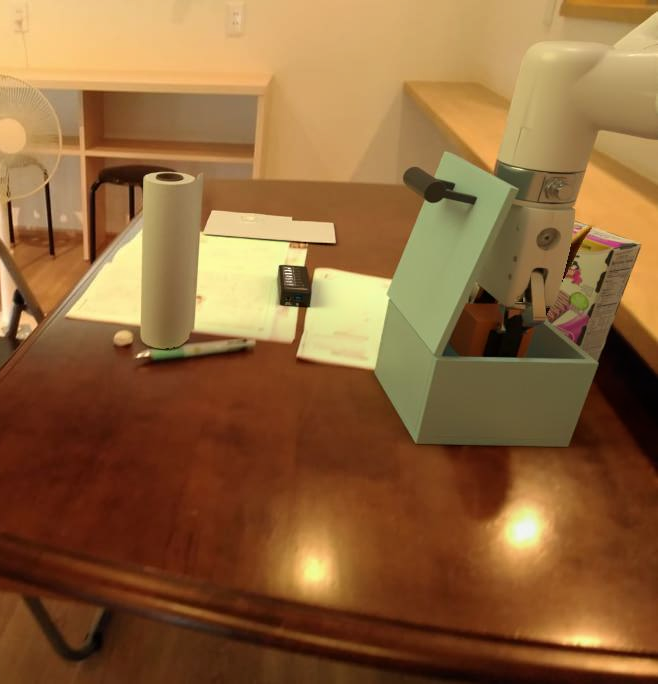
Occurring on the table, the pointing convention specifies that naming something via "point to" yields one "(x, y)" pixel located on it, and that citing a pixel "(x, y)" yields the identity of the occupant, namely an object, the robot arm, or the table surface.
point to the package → (480, 330)
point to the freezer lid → (447, 244)
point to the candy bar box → (593, 288)
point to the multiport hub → (294, 286)
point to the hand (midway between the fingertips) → (486, 351)
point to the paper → (268, 227)
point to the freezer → (484, 389)
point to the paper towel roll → (169, 257)
